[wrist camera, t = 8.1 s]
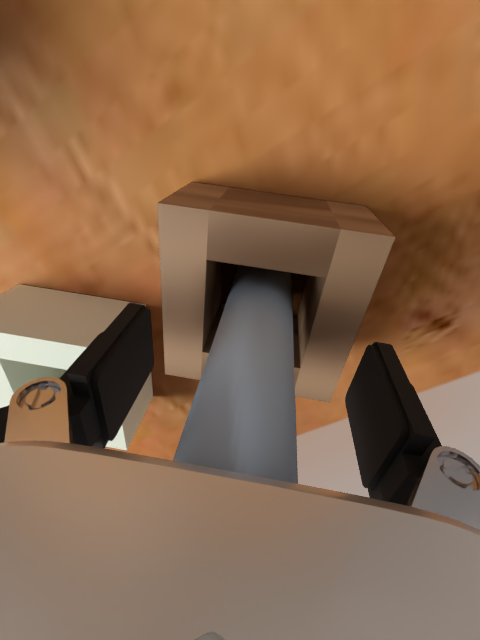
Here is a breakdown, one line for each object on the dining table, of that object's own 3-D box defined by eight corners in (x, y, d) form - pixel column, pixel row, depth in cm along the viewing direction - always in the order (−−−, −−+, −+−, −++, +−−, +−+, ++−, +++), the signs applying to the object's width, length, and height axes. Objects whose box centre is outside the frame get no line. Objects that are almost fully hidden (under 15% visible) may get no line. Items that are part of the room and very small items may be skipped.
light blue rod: (240, 244, 17) (83, 656, 4) (296, 252, 17) (330, 712, 4) (235, 293, 19) (114, 692, 6) (285, 301, 19) (283, 731, 6)
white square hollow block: (18, 283, 21) (-49, 324, 17) (145, 304, 20) (109, 351, 16) (50, 378, 26) (4, 427, 22) (153, 396, 25) (126, 450, 21)
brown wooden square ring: (191, 181, 16) (157, 203, 12) (365, 206, 15) (395, 237, 11) (189, 323, 21) (165, 374, 17) (320, 345, 20) (329, 402, 16)
